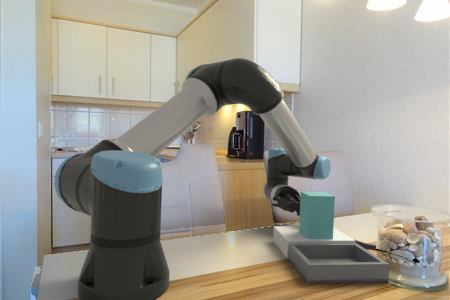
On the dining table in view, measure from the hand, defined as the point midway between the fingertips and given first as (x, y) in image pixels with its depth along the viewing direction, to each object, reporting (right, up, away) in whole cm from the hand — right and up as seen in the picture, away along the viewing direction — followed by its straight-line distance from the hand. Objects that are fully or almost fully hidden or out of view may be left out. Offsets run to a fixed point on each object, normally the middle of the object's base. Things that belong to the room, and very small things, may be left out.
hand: (314, 214), depth 79 cm
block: (-1, -4, -3) cm, 5 cm away
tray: (0, -9, -14) cm, 16 cm away
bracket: (+16, -10, +1) cm, 19 cm away
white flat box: (-1, -8, -1) cm, 8 cm away
